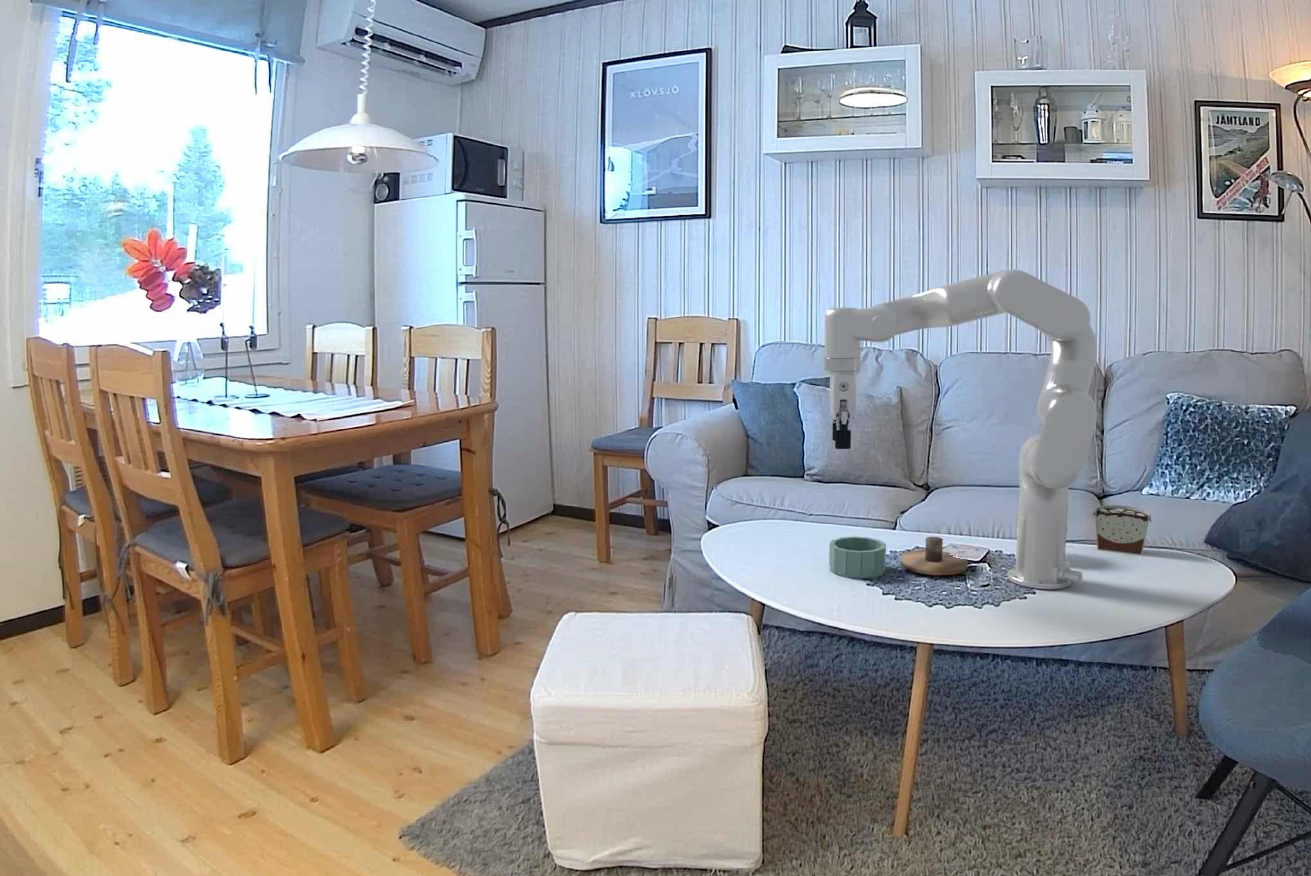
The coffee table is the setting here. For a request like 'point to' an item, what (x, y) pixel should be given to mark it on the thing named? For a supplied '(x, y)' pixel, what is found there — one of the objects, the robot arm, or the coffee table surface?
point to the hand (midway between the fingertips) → (841, 444)
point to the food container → (1121, 528)
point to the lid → (933, 560)
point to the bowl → (857, 557)
